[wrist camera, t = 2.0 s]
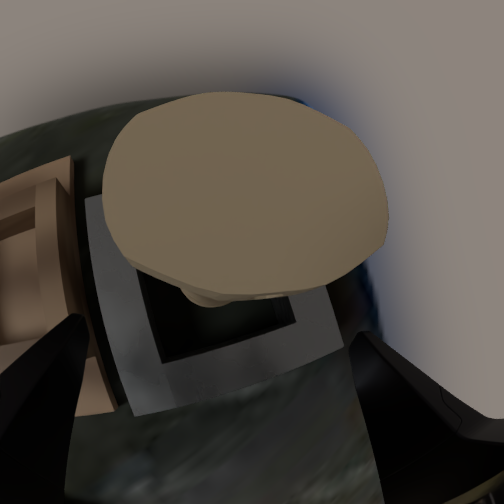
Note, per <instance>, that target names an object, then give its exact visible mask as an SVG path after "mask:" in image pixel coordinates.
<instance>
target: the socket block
mask: <svg viewBox="0 0 504 504" xmlns="http://www.w3.org/2000/svg"><path fill="white" fill-rule="evenodd" d="M85 209H86V221H87V231H88V240H89V247H90V255H91V261H92V268H93V274H94V279H95V285H96V290H97V295H98V300H99V304H100V309H101V313H102V317H103V321H104V325H105V329H106V333H107V337H108V340H109V344H110V347H111V351H112V354H113V357H114V361H115V364H116V367H117V370H118V373H119V376H120V379H121V382H122V385H123V387H124V390H125V393H126V396H127V398H128V401H129V403H130V406H131V408H132V411H133V413H134V416H140V415H145V414H150V413H155V412H159V411H164V410H168V409H172V408H176V407H180V406H184V405H188V404H192V403H196V402H199V401H203V400H206V399H210V398H213V397H217V396H220V395H223V394H226V393H229V392H233V391H236V390H239V389H242V388H245V387H248V386H250V385H253V384H256V383H259V382H262V381H264V380H267V379H270V378H272V377H275V376H278V375H280V374H283V373H285V372H288V371H290V370H293V369H295V368H297V367H300V366H302V365H305V364H307V363H309V362H312V361H314V360H316V359H318V358H321V357H323V356H325V355H327V354H329V353H331V352H334V351H336V350H338V349H340V348H342V347H344V345H343V341H342V338H341V334H340V331H339V328H338V324H337V321H336V318H335V314H334V311H333V308H332V305H331V302H330V299H329V295H328V292H327V289H326V286H325V285H324V286H321V287H319V288H316V289H313V290H310V291H307V292H304V293H300V294H296V295H291V296H284V297H276V298H271V302H272V305H273V308H274V311H275V314H276V317H277V320H278V323H279V324H276V325H273V326H271V327H268V328H265V329H262V330H259V331H256V332H253V333H250V334H247V335H243V336H240V337H237V338H234V339H231V340H228V341H224V342H221V343H218V344H214V345H211V346H207V347H204V348H200V349H197V350H193V351H190V352H186V353H182V354H179V355H175V356H171V357H167V358H166V355H165V352H164V349H163V346H162V343H161V339H160V336H159V333H158V329H157V326H156V322H155V319H154V315H153V311H152V308H151V304H150V300H149V296H148V292H147V288H146V284H145V280H144V275H143V272H142V271H140V270H138V269H136V268H134V267H133V266H132V265H131V264H130V263H129V262H128V261H127V259H126V258H125V257H124V256H123V254H122V253H121V251H120V249H119V248H118V246H117V245H116V243H115V242H114V240H113V238H112V236H111V233H110V231H109V229H108V226H107V224H106V221H105V216H104V209H103V202H102V194H100V195H96V196H93V197H89V198H86V199H85Z"/></svg>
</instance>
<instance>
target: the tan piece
mask: <svg viewBox="0 0 504 504" xmlns="http://www.w3.org/2000/svg"><path fill="white" fill-rule="evenodd" d="M71 313H78V314H83V315H84V316H85V318H86V322H87V325H88V329H89V333H90V341H89V346H88V351H87V357H86V363H85V370H84V376H83V382H82V387H81V391H80V395H79V399H78V403H77V408H76V413H75V417H76V416H84V415H92V414H99V413H106V412H113V411H115V410H116V409H117V408H118V405H117V402H116V399H115V397H114V394H113V391H112V389H111V386H110V383H109V380H108V377H107V374H106V371H105V368H104V365H103V362H102V358H101V355H100V352H99V348H98V345H97V341H96V337H95V333H94V330H93V326H92V321H91V317H90V313H89V308H88V303H87V299H86V293H85V288H84V282H83V277H82V270H81V264H80V256H79V248H78V239H77V229H76V216H75V197H74V162H73V160H72V158H71V156H68V157H65V158H62V159H59V160H56V161H53V162H50V163H48V164H45V165H42V166H40V167H37V168H35V169H32V170H30V171H27V172H25V173H22V174H20V175H18V176H15V177H13V178H11V179H8V180H6V181H4V182H2V183H0V374H1V373H2V372H3V371H4V370H5V369H6V368H7V367H8V366H9V365H11V364H12V363H13V362H14V361H15V360H16V359H17V358H18V357H20V356H21V355H22V354H23V353H24V352H25V351H26V350H28V349H29V348H30V347H31V346H32V345H33V344H35V343H36V342H37V341H38V340H39V339H40V338H42V337H43V336H44V335H45V334H46V333H48V332H49V331H50V330H51V329H52V328H54V327H55V326H56V325H57V324H59V323H60V322H61V321H62V320H64V319H65V318H66V317H67V316H69V315H70V314H71Z"/></svg>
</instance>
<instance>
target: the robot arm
mask: <svg viewBox="0 0 504 504" xmlns="http://www.w3.org/2000/svg"><path fill="white" fill-rule="evenodd" d="M89 341H90V333H89V329H88V325H87V322H86V318H85V316H84V315H83V314H78V313H71V314H70V315H69V316H67V317H66V318H65V319H64V320H62V321H61V322H60V323H59V324H57V325H56V326H55V327H54V328H52V329H51V330H50V331H49V332H48V333H46V334H45V335H44V336H43V337H42V338H40V339H39V340H38V341H37V342H36V343H35V344H33V345H32V346H31V347H30V348H29V349H28V350H26V351H25V352H24V353H23V354H22V355H21V356H20V357H18V358H17V359H16V360H15V361H14V362H13V363H12V364H11V365H9V366H8V367H7V368H6V369H5V370H4V371H3V372H2V373H1V374H0V504H64V487H65V476H66V467H67V459H68V452H69V445H70V439H71V433H72V428H73V422H74V417H75V413H76V408H77V403H78V399H79V395H80V391H81V387H82V382H83V376H84V370H85V363H86V357H87V351H88V346H89ZM349 357H350V362H351V367H352V372H353V377H354V382H355V387H356V391H357V395H358V398H359V402H360V405H361V409H362V412H363V416H364V419H365V423H366V426H367V430H368V434H369V438H370V441H371V445H372V449H373V453H374V457H375V461H376V465H377V470H378V474H379V478H380V483H381V488H382V492H383V497H384V502H385V504H504V419H492V418H488V417H485V416H484V415H482V414H481V413H479V412H478V411H476V410H474V409H473V408H471V407H470V406H468V405H467V404H465V403H464V402H462V401H461V400H459V399H458V398H456V397H455V396H453V395H452V394H451V393H450V392H448V391H447V390H446V389H444V388H443V387H442V386H440V385H439V384H438V383H436V382H435V381H434V380H432V379H431V378H430V377H429V376H427V375H426V374H425V373H423V372H422V371H421V370H420V369H418V368H417V367H415V366H414V365H413V364H412V363H411V362H409V361H408V360H407V359H405V358H404V357H402V356H401V355H400V354H399V353H398V352H396V351H395V350H394V349H392V348H391V347H390V346H388V345H387V344H386V343H384V342H383V341H382V340H381V339H379V338H378V337H377V336H375V335H374V334H373V333H371V332H370V331H360V332H358V333H357V335H356V336H355V338H354V340H353V341H352V343H351V345H350V347H349Z"/></svg>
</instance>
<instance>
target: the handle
mask: <svg viewBox="0 0 504 504" xmlns="http://www.w3.org/2000/svg"><path fill="white" fill-rule="evenodd" d="M102 202H103V209H104V216H105V221H106V224H107V226H108V229H109V231H110V233H111V236H112V238H113V240H114V242H115V243H116V245H117V246H118V248H119V249H120V251H121V253H122V254H123V256H124V257H125V258H126V259H127V261H128V262H129V263H130V264H131V265H132V266H133V267H134V268H136V269H138V270H140V271H142V272H145V273H147V274H149V275H151V276H153V277H155V278H158V279H160V280H162V281H164V282H167V283H169V284H171V285H174V286H177V287H179V288H181V290H182V292H183V293H184V294H185V296H186V297H187V298H188V299H189V300H190V301H192V302H193V303H195V304H197V305H200V306H203V307H218V306H223V305H226V304H228V303H230V302H232V301H243V300H257V299H267V298H276V297H284V296H291V295H296V294H300V293H304V292H307V291H310V290H313V289H316V288H319V287H321V286H324V285H326V284H328V283H330V282H332V281H334V280H336V279H338V278H340V277H342V276H343V275H345V274H347V273H348V272H349V271H351V270H352V269H354V268H355V267H356V266H358V265H359V264H360V263H362V262H363V261H364V260H365V259H367V258H368V257H369V256H370V255H372V254H373V253H374V252H375V251H376V250H378V249H379V248H380V247H381V246H382V245H383V244H384V241H385V238H386V234H387V228H388V220H389V214H388V202H387V197H386V192H385V189H384V184H383V181H382V179H381V176H380V173H379V171H378V168H377V166H376V164H375V162H374V160H373V158H372V156H371V154H370V153H369V151H368V149H367V148H366V147H365V146H364V144H363V143H362V142H361V140H360V139H359V138H358V137H357V136H356V135H355V133H354V132H353V131H352V130H351V129H349V128H348V127H346V126H345V125H343V124H341V123H339V122H337V121H335V120H334V119H332V118H330V117H328V116H326V115H324V114H322V113H320V112H318V111H316V110H314V109H312V108H309V107H307V106H305V105H303V104H300V103H297V102H294V101H292V100H289V99H285V98H280V97H275V96H270V95H261V94H251V93H239V92H209V93H203V94H198V95H192V96H188V97H185V98H182V99H178V100H175V101H172V102H169V103H166V104H163V105H160V106H157V107H155V108H152V109H149V110H147V111H144V112H142V113H139V114H137V115H136V116H135V117H134V118H133V119H132V120H131V121H130V122H129V123H128V124H127V125H126V126H125V127H124V129H123V130H122V131H121V133H120V134H119V135H118V136H117V138H116V140H115V142H114V144H113V146H112V148H111V151H110V153H109V155H108V159H107V162H106V166H105V171H104V175H103V188H102Z"/></svg>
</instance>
